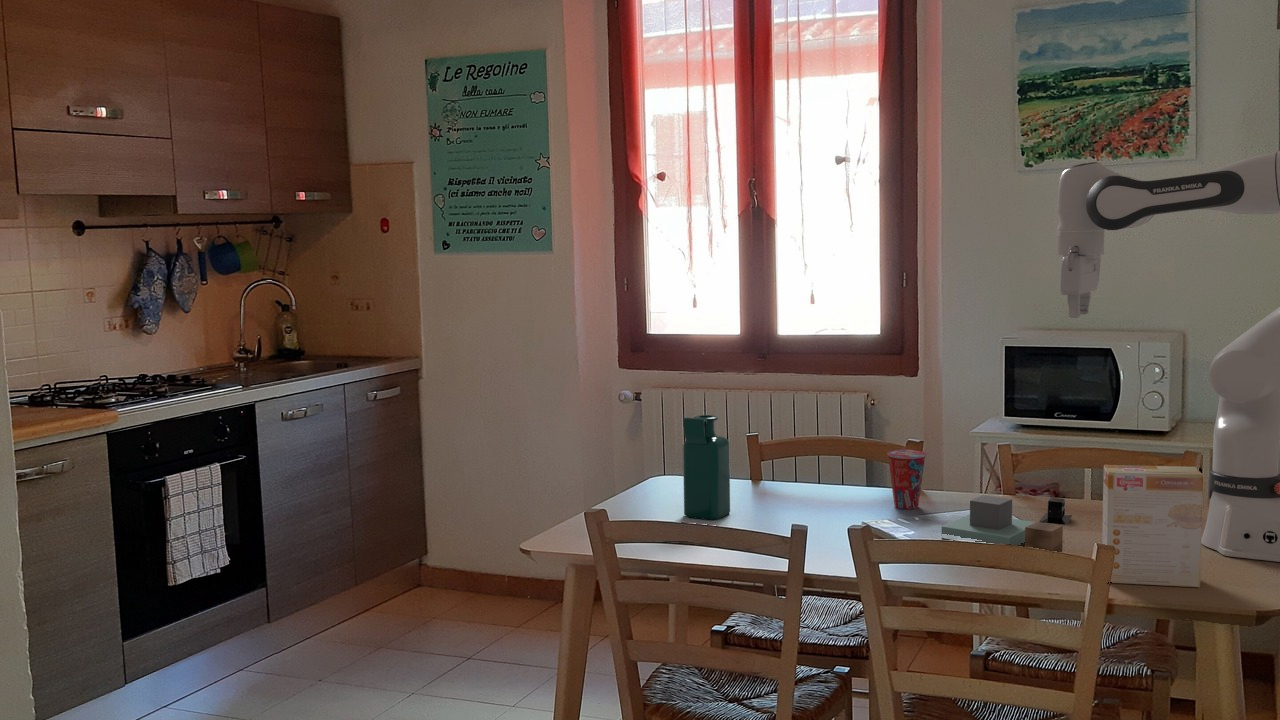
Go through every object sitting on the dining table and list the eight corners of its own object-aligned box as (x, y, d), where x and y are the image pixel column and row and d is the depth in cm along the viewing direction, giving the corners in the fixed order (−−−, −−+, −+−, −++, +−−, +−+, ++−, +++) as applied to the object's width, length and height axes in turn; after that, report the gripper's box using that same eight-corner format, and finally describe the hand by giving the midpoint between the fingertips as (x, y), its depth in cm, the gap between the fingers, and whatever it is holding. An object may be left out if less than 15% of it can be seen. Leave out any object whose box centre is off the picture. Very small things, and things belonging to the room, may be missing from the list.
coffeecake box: (1192, 576, 201) (1195, 465, 199) (1201, 588, 194) (1204, 474, 192) (1100, 571, 205) (1102, 463, 203) (1105, 583, 198) (1108, 471, 196)
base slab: (1039, 535, 230) (1039, 522, 230) (1009, 550, 220) (1009, 537, 219) (973, 524, 239) (973, 512, 239) (941, 538, 229) (941, 526, 229)
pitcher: (699, 508, 258) (697, 411, 256) (733, 512, 254) (732, 413, 251) (677, 518, 250) (676, 417, 247) (712, 522, 245) (711, 420, 243)
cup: (934, 508, 254) (934, 454, 252) (901, 512, 250) (901, 458, 249) (909, 500, 262) (909, 447, 261) (877, 504, 259) (877, 451, 258)
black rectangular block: (1070, 529, 236) (1070, 507, 236) (1032, 526, 239) (1032, 504, 239) (1077, 516, 247) (1078, 495, 246) (1041, 512, 250) (1042, 492, 250)
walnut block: (1062, 557, 214) (1062, 525, 214) (1051, 563, 211) (1051, 531, 210) (1035, 553, 218) (1036, 521, 217) (1024, 559, 214) (1025, 527, 213)
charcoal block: (1011, 523, 229) (1012, 499, 229) (998, 530, 225) (999, 504, 224) (983, 519, 233) (983, 495, 233) (969, 525, 229) (970, 500, 228)
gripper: (1087, 246, 219) (1086, 319, 221) (1105, 245, 237) (1104, 312, 238) (1052, 247, 222) (1051, 319, 224) (1073, 245, 240) (1072, 312, 241)
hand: (1079, 315), depth 231 cm, fingers open, 8 cm apart
